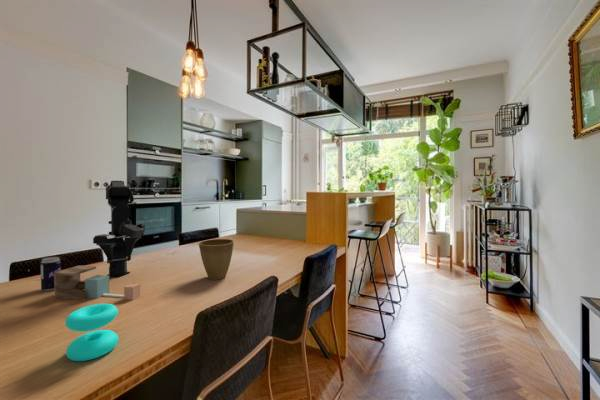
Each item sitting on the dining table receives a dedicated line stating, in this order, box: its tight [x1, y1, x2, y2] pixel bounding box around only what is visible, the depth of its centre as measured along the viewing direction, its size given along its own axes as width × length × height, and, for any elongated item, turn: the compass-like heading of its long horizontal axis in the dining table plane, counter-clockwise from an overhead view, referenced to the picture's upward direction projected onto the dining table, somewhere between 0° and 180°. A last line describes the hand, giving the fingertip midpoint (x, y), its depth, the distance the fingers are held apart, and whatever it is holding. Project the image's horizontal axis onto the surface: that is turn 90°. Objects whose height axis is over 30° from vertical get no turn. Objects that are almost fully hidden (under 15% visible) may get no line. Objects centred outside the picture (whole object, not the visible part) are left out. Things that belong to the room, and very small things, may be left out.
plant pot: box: [198, 238, 235, 281], centre depth 121 cm, size 15×15×16 cm
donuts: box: [65, 303, 119, 362], centre depth 65 cm, size 10×10×10 cm
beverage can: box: [40, 256, 62, 292], centre depth 105 cm, size 6×6×12 cm
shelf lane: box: [53, 265, 97, 300], centre depth 100 cm, size 9×12×9 cm
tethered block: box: [84, 274, 141, 301], centre depth 98 cm, size 5×18×6 cm, turn 82°
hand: (120, 257), depth 107 cm, fingers open, 9 cm apart
